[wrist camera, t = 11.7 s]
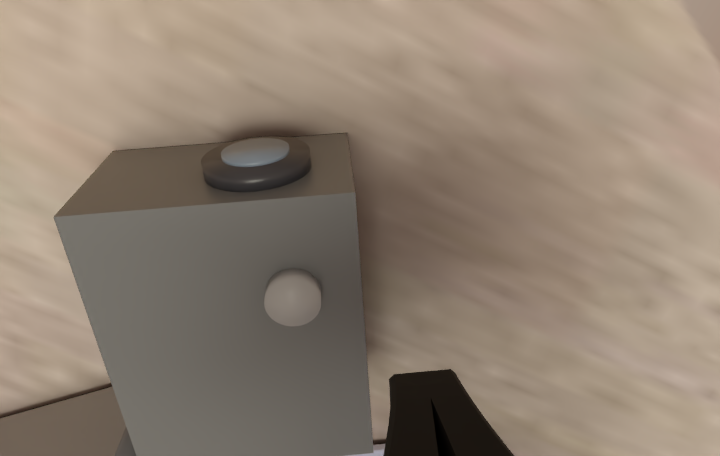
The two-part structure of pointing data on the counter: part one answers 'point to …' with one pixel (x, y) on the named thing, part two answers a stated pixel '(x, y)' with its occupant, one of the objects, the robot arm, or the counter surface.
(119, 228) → the camera body
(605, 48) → the counter surface
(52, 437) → the side door
